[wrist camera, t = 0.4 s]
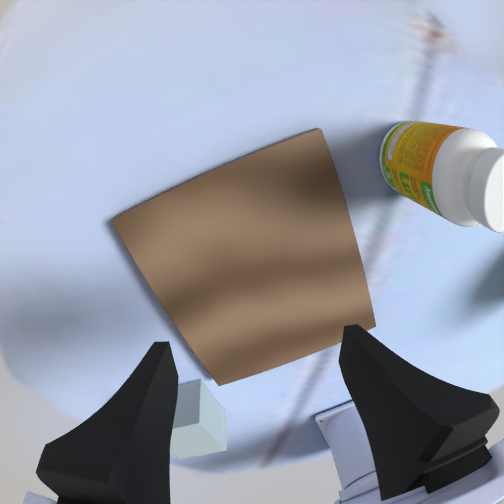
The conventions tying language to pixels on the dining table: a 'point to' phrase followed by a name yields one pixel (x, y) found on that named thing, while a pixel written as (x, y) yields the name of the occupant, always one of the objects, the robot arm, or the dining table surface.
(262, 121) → the dining table surface
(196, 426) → the pale blue-gray cube
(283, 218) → the brown wooden board
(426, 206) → the supplement bottle
